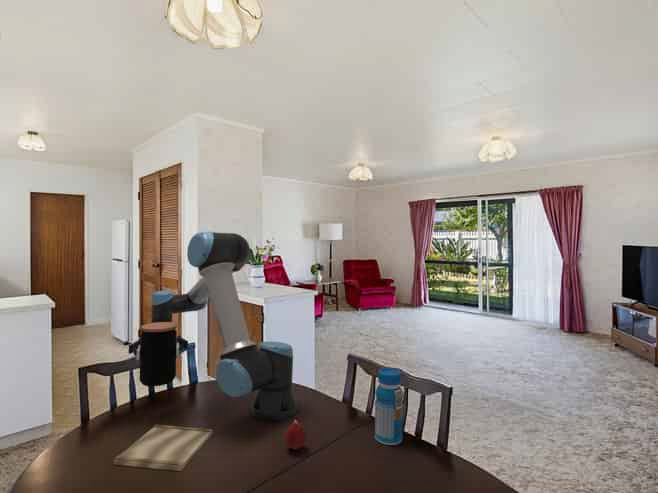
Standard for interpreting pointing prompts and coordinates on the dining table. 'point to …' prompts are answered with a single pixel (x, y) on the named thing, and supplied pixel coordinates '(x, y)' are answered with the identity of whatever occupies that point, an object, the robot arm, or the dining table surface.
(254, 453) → the dining table surface
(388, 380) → the beverage bottle
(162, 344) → the coffee jar
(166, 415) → the dining table surface
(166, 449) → the board
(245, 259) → the robot arm
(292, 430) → the onion
